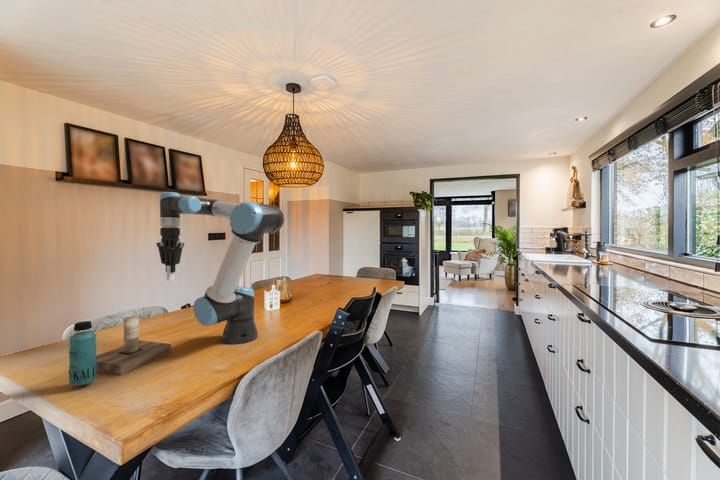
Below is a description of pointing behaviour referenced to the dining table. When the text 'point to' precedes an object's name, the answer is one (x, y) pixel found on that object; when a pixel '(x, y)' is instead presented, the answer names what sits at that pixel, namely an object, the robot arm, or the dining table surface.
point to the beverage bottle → (82, 355)
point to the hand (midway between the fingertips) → (170, 279)
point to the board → (130, 357)
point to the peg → (131, 335)
